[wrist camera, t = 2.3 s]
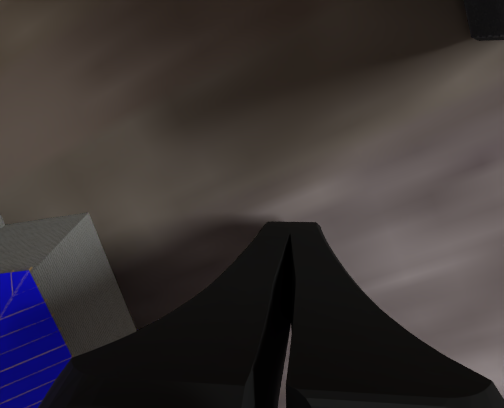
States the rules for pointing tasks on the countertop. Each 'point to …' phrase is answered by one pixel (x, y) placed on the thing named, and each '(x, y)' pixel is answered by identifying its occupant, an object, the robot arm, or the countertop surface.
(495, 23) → the ammunition clip
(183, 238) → the countertop surface
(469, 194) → the countertop surface
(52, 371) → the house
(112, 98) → the countertop surface
